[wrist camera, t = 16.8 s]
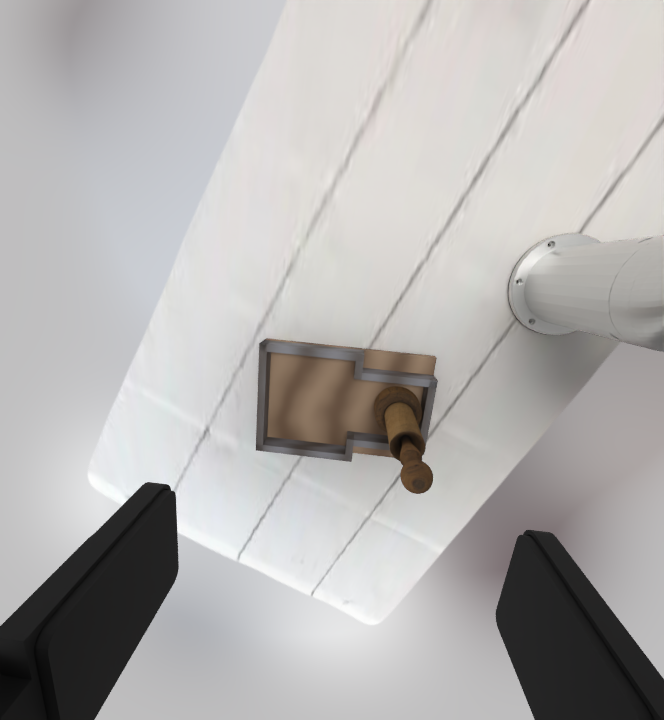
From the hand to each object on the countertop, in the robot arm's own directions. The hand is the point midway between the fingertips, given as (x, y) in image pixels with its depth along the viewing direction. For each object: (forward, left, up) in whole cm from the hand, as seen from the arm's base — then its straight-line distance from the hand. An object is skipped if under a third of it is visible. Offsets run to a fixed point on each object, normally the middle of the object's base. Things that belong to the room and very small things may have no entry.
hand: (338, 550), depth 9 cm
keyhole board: (0, +11, -38) cm, 40 cm away
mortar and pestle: (-8, +11, -38) cm, 40 cm away
